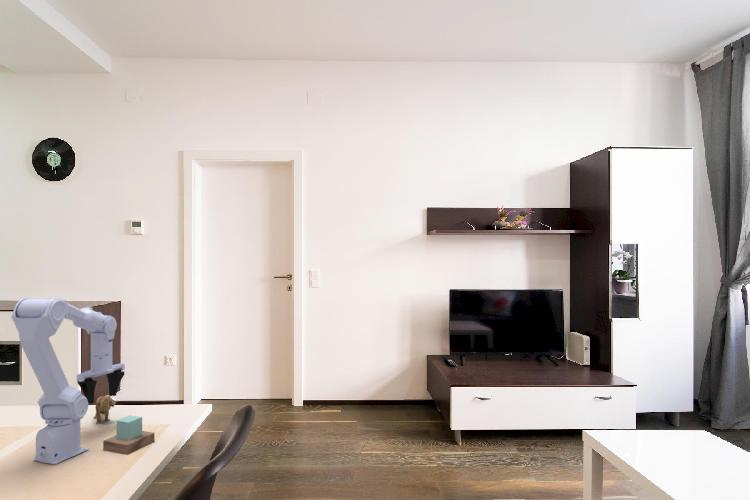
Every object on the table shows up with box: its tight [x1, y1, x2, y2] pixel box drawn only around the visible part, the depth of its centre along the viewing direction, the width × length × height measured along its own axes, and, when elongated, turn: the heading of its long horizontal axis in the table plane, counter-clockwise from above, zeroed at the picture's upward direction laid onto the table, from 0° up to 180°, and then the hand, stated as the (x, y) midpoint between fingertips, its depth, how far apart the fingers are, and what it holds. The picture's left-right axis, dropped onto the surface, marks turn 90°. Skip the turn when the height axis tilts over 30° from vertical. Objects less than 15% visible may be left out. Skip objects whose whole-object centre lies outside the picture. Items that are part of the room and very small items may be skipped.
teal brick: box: [116, 414, 143, 441], centre depth 127 cm, size 4×4×5 cm
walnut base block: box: [102, 430, 155, 455], centre depth 127 cm, size 9×9×2 cm
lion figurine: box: [93, 394, 117, 425], centre depth 148 cm, size 15×5×9 cm, turn 44°
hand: (101, 399), depth 138 cm, fingers open, 7 cm apart
